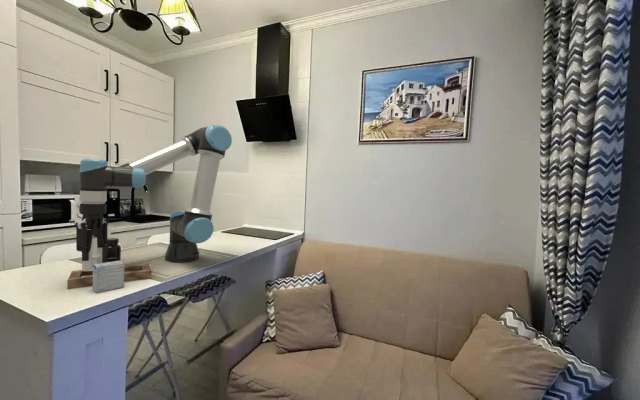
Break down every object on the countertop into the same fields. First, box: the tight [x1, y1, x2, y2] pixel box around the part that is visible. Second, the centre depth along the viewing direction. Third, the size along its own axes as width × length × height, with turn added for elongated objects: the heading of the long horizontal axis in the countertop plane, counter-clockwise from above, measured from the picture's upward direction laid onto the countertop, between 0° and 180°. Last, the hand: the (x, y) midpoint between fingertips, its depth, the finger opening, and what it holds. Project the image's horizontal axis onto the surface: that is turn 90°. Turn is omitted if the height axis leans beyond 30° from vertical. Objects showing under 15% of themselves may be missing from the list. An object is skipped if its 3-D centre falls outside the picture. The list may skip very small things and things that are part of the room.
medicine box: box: [92, 261, 125, 294], centre depth 95 cm, size 8×4×9 cm, turn 141°
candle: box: [83, 236, 101, 271], centre depth 100 cm, size 5×5×12 cm
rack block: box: [66, 263, 152, 290], centre depth 104 cm, size 24×11×3 cm, turn 125°
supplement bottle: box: [102, 237, 122, 263], centre depth 117 cm, size 7×7×12 cm
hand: (92, 267), depth 101 cm, fingers closed on candle, 4 cm apart
